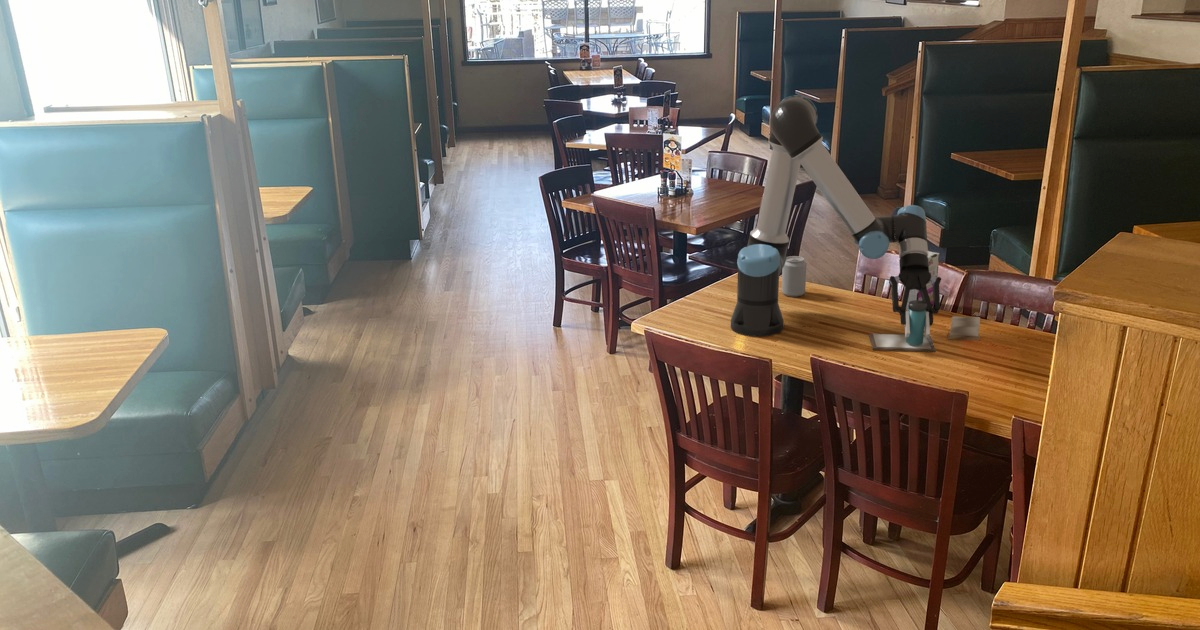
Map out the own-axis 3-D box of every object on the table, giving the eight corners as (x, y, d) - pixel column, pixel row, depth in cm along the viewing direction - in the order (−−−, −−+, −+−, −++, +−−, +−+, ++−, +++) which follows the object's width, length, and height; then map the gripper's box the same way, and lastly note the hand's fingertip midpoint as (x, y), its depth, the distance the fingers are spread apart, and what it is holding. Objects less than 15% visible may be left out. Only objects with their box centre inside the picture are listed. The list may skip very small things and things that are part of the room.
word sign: (948, 339, 239) (951, 317, 237) (947, 337, 240) (950, 315, 238) (979, 340, 237) (982, 318, 235) (978, 338, 239) (981, 316, 237)
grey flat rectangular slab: (872, 350, 234) (873, 344, 233) (868, 335, 244) (869, 330, 243) (935, 352, 231) (936, 346, 230) (928, 337, 241) (929, 331, 240)
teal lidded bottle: (906, 344, 233) (910, 305, 229) (904, 338, 237) (907, 300, 233) (924, 345, 232) (928, 306, 228) (922, 338, 236) (925, 300, 233)
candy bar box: (920, 301, 270) (925, 250, 264) (935, 304, 266) (940, 252, 260) (901, 310, 263) (905, 257, 257) (916, 313, 259) (921, 260, 254)
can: (781, 297, 278) (783, 261, 274) (781, 290, 285) (782, 254, 281) (805, 297, 276) (807, 261, 272) (804, 290, 283) (806, 255, 279)
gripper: (944, 265, 241) (949, 342, 232) (879, 264, 245) (881, 340, 235) (949, 252, 235) (955, 330, 225) (882, 250, 238) (885, 328, 228)
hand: (917, 335), depth 230 cm, fingers closed on teal lidded bottle, 4 cm apart
